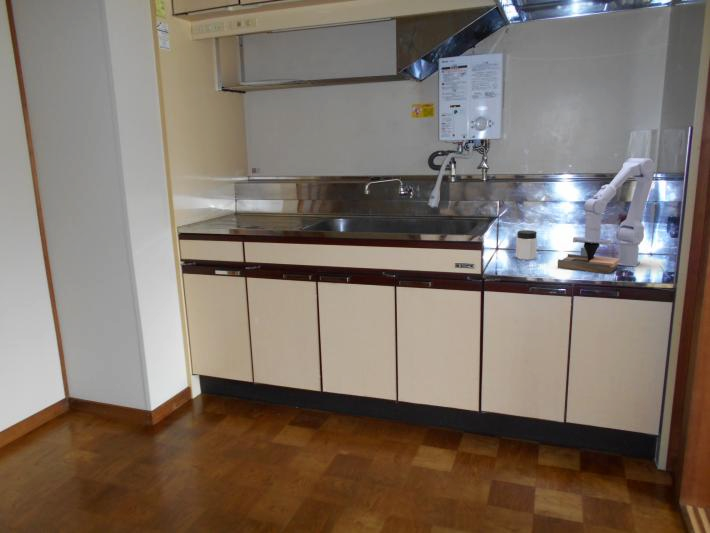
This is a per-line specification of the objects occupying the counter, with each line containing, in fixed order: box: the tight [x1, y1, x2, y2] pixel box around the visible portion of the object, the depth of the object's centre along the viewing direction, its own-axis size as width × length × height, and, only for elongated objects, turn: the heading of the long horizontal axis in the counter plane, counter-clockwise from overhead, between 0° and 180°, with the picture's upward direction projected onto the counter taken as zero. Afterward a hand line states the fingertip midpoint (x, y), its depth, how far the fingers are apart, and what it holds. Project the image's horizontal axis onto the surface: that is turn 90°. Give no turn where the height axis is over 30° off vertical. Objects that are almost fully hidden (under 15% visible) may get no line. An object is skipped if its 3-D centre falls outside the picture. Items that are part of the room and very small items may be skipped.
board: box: [557, 253, 619, 275], centre depth 228 cm, size 14×20×4 cm
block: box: [580, 245, 587, 256], centre depth 240 cm, size 4×4×6 cm
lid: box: [589, 255, 620, 267], centre depth 224 cm, size 11×9×2 cm
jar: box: [515, 229, 538, 261], centre depth 248 cm, size 9×8×12 cm
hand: (590, 260), depth 227 cm, fingers closed
